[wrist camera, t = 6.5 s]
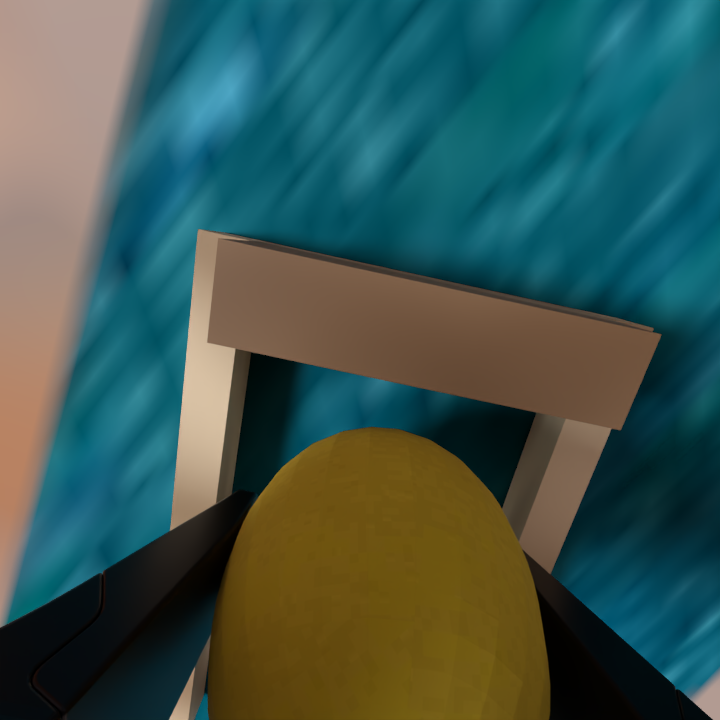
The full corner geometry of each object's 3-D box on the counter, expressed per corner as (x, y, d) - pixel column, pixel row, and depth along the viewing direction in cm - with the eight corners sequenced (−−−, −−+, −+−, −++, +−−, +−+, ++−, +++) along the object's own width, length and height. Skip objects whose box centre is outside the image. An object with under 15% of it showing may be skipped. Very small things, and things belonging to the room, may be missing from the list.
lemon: (353, 581, 12) (316, 1128, 5) (241, 448, 11) (-51, 875, 4) (510, 495, 11) (796, 1013, 4) (403, 340, 10) (484, 609, 3)
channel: (450, 743, 15) (471, 881, 12) (172, 689, 15) (114, 814, 12) (616, 318, 11) (725, 348, 7) (222, 232, 11) (150, 223, 7)
